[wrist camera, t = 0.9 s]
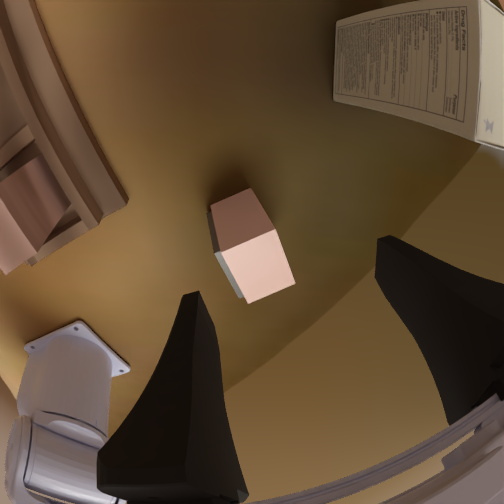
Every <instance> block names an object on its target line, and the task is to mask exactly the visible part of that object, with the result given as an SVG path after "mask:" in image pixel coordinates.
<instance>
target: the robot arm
mask: <svg viewBox="0 0 504 504" xmlns="http://www.w3.org/2000/svg"><path fill="white" fill-rule="evenodd" d="M375 279H376V280H377V282H378V284H379V286H380V288H381V290H382V292H383V293H384V295H385V297H386V299H387V300H388V301H389V302H390V304H391V306H392V307H393V308H394V310H395V311H396V313H397V314H398V315H399V317H400V318H401V320H402V321H403V323H404V324H405V325H406V327H407V328H408V330H409V331H410V333H411V334H412V335H413V337H414V339H415V340H416V342H417V344H418V346H419V348H420V349H421V352H422V354H423V355H424V357H425V360H426V362H427V364H428V366H429V369H430V371H431V373H432V375H433V378H434V380H435V383H436V386H437V388H438V391H439V394H440V397H441V400H442V403H443V407H444V410H445V414H446V418H447V422H448V423H449V425H450V426H449V427H447V428H446V429H444V430H442V431H441V432H439V433H437V434H436V435H434V436H432V437H430V438H429V439H427V440H425V441H423V442H422V443H420V444H418V445H416V446H414V447H412V448H410V449H409V450H407V451H405V452H402V453H401V454H398V455H396V456H394V457H392V458H390V459H388V460H386V461H384V462H381V463H379V464H377V465H374V466H372V467H370V468H367V469H365V470H363V471H360V472H357V473H355V474H352V475H350V476H347V477H344V478H342V479H339V480H336V481H333V482H330V483H327V484H324V485H321V486H318V487H314V488H311V489H308V490H304V491H301V492H297V493H293V494H289V495H285V496H281V497H277V498H272V499H268V500H262V501H257V502H253V503H246V504H326V503H329V502H332V501H335V500H338V499H341V498H344V497H346V496H349V495H352V494H354V493H357V492H360V491H362V490H365V489H367V488H370V487H372V486H374V485H377V484H379V483H381V482H383V481H386V480H388V479H390V478H392V477H394V476H396V475H398V474H400V473H402V472H404V471H406V470H408V469H410V468H412V467H414V466H416V465H418V464H420V463H421V462H423V461H425V460H427V459H429V458H430V457H432V456H434V455H435V454H437V453H439V452H440V451H442V450H444V449H445V448H447V447H449V446H450V445H452V444H453V443H455V442H456V441H458V440H459V439H461V438H462V437H464V436H465V435H467V434H468V433H469V432H471V431H472V430H474V429H475V428H476V429H475V431H474V435H473V436H472V437H470V438H469V439H467V440H466V441H465V442H463V443H462V444H460V445H459V446H458V447H457V448H456V449H454V450H453V451H452V452H450V453H449V454H447V455H446V456H445V457H443V458H442V460H441V461H442V463H443V465H444V468H445V469H444V470H443V471H441V472H440V473H438V474H436V475H434V476H433V477H431V478H429V479H428V480H426V481H424V482H422V483H420V484H418V485H417V486H415V487H413V488H411V489H409V490H407V491H405V492H403V493H401V494H399V495H397V496H394V497H392V498H390V499H388V500H386V501H384V502H381V503H379V504H504V284H502V283H498V282H495V281H492V280H488V279H485V278H482V277H479V276H476V275H474V274H471V273H469V272H466V271H464V270H461V269H458V268H456V267H454V266H452V265H450V264H448V263H446V262H443V261H441V260H439V259H437V258H435V257H433V256H431V255H429V254H427V253H425V252H423V251H422V250H420V249H418V248H415V247H414V246H412V245H410V244H408V243H406V242H404V241H402V240H400V239H398V238H396V237H393V236H391V235H388V236H385V237H382V238H379V239H377V254H376V268H375ZM76 327H77V328H76ZM24 350H25V351H26V352H27V353H28V354H29V357H28V360H27V363H26V366H25V370H24V373H23V377H22V380H21V384H20V388H19V391H18V395H17V407H18V411H19V414H20V417H17V418H16V419H15V421H14V423H13V425H12V428H11V432H10V435H9V440H8V445H7V451H6V460H5V471H6V473H5V489H6V491H7V494H8V497H9V499H10V501H11V502H12V503H13V504H65V503H62V502H58V501H56V500H52V499H49V498H46V497H43V496H40V495H37V494H35V493H32V492H30V491H28V490H26V488H28V489H31V490H34V491H36V492H39V493H42V494H45V495H48V496H51V497H54V498H58V499H61V500H64V501H68V502H71V503H75V504H125V503H126V501H127V504H239V503H242V502H244V501H245V500H246V499H247V497H248V496H249V493H248V490H247V487H246V484H245V481H244V478H243V475H242V471H241V468H240V464H239V461H238V457H237V454H236V450H235V447H234V443H233V439H232V434H231V430H230V427H229V422H228V417H227V413H226V408H225V402H224V393H223V383H222V373H221V362H220V351H219V345H218V340H217V336H216V331H215V326H214V324H213V322H212V319H211V317H210V315H209V313H208V310H207V308H206V306H205V304H204V301H203V299H202V297H201V294H200V292H199V291H196V292H192V293H189V294H185V295H183V297H182V299H181V302H180V306H179V309H178V312H177V315H176V318H175V321H174V324H173V327H172V330H171V332H170V335H169V338H168V340H167V343H166V345H165V348H164V350H163V353H162V355H161V357H160V360H159V362H158V364H157V366H156V368H155V370H154V372H153V374H152V376H151V378H150V380H149V382H148V384H147V386H146V387H145V389H144V391H143V392H142V394H141V396H140V398H139V399H138V401H137V402H136V404H135V406H134V407H133V409H132V410H131V411H130V413H129V414H128V416H127V417H126V418H125V420H124V421H123V423H122V424H121V425H120V427H119V428H118V429H117V431H116V432H115V433H114V434H113V435H112V436H111V438H110V439H109V438H108V418H109V402H110V389H111V378H112V377H114V376H117V375H120V374H124V373H127V372H129V371H130V366H129V365H128V364H126V363H125V362H124V361H123V360H122V359H121V358H120V357H119V356H118V355H117V354H116V353H114V352H113V351H112V350H111V349H110V348H109V347H108V346H107V345H106V344H105V343H104V342H103V341H102V340H101V339H100V338H99V337H98V336H97V335H96V334H95V333H94V332H93V331H92V330H91V329H90V328H89V327H88V326H87V325H86V324H85V323H84V322H83V321H76V322H74V323H72V324H69V325H67V326H65V327H63V328H60V329H58V330H56V331H54V332H52V333H49V334H47V335H45V336H43V337H41V338H38V339H36V340H34V341H32V342H30V343H27V344H25V346H24ZM25 487H26V488H25Z"/></svg>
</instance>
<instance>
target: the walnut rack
mask: <svg viewBox="0 0 504 504" xmlns="http://www.w3.org/2000/svg"><path fill="white" fill-rule="evenodd" d="M128 200H129V199H128V197H127V195H126V193H125V192H124V190H123V188H122V187H121V185H120V183H119V181H118V180H117V178H116V176H115V174H114V172H113V171H112V169H111V167H110V165H109V163H108V162H107V160H106V158H105V156H104V154H103V153H102V151H101V149H100V147H99V145H98V143H97V141H96V139H95V137H94V136H93V134H92V132H91V130H90V128H89V126H88V124H87V122H86V120H85V118H84V116H83V114H82V112H81V110H80V108H79V106H78V104H77V102H76V100H75V98H74V96H73V93H72V91H71V89H70V87H69V85H68V83H67V81H66V78H65V76H64V74H63V72H62V69H61V67H60V65H59V63H58V60H57V58H56V56H55V53H54V51H53V49H52V46H51V44H50V41H49V39H48V36H47V34H46V31H45V29H44V26H43V24H42V21H41V18H40V16H39V13H38V10H37V7H36V5H35V2H34V0H0V268H1V270H2V271H3V272H4V274H5V275H7V274H8V273H10V272H11V271H12V270H14V269H15V268H16V267H18V266H19V265H21V264H22V263H23V262H25V263H26V265H28V264H30V265H31V266H33V265H34V264H36V263H37V262H39V261H40V260H42V259H43V258H45V257H46V256H48V255H50V254H51V253H53V252H54V251H56V250H57V249H59V248H61V247H62V246H64V245H66V244H67V243H69V242H70V241H72V240H74V239H75V238H77V237H79V236H80V235H82V234H84V233H85V232H87V231H89V230H91V229H92V228H94V227H96V226H98V225H99V223H100V221H101V219H102V218H104V217H106V216H108V215H109V214H111V213H113V212H115V211H117V210H118V209H120V208H122V207H124V206H126V205H127V203H128Z"/></svg>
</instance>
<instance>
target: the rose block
mask: <svg viewBox="0 0 504 504" xmlns="http://www.w3.org/2000/svg"><path fill="white" fill-rule="evenodd" d="M210 207H211V212H208V213H207V218H208V223H209V229H210V234H211V239H212V244H213V250H214V254H215V256H216V258H217V259H218V261H219V263H220V265H221V267H222V269H223V270H224V272H225V274H226V276H227V278H228V279H229V281H230V283H231V285H232V287H233V288H234V290H235V292H236V294H237V295H238V297H239V298H242V297H245V299H246V300H247V302H248V304H249V303H251V302H253V301H256V300H258V299H261V298H263V297H265V296H268V295H270V294H272V293H275V292H277V291H279V290H281V289H284V288H286V287H288V286H291V285H293V284H295V281H294V278H293V275H292V273H291V270H290V267H289V265H288V262H287V259H286V256H285V254H284V251H283V248H282V246H281V243H280V240H279V237H278V235H277V232H276V229H275V228H274V226H273V224H272V222H271V221H270V219H269V217H268V216H267V214H266V212H265V211H264V209H263V207H262V206H261V204H260V202H259V200H258V199H257V197H256V195H255V194H254V192H253V190H252V189H251V188H249V189H247V190H244V191H242V192H240V193H237V194H235V195H233V196H230V197H228V198H226V199H224V200H221V201H219V202H217V203H215V204H212V205H210Z"/></svg>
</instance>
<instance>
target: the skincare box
mask: <svg viewBox="0 0 504 504" xmlns="http://www.w3.org/2000/svg"><path fill="white" fill-rule="evenodd" d="M333 100H334V101H336V102H341V103H346V104H351V105H356V106H360V107H365V108H369V109H373V110H378V111H382V112H385V113H389V114H393V115H397V116H400V117H404V118H407V119H411V120H414V121H418V122H421V123H424V124H427V125H430V126H433V127H436V128H439V129H442V130H445V131H448V132H451V133H454V134H456V135H459V136H462V137H464V138H467V139H469V140H472V141H474V142H478V143H481V144H484V145H487V146H490V147H494V148H497V149H501V150H504V13H503V12H502V11H501V10H500V9H499V8H497V7H496V6H495V5H494V4H492V3H491V2H490V1H489V0H421V1H414V2H408V3H403V4H398V5H394V6H389V7H385V8H381V9H377V10H373V11H369V12H365V13H361V14H358V15H355V16H351V17H348V18H345V19H341V20H338V21H337V22H336V36H335V63H334V89H333Z"/></svg>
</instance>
